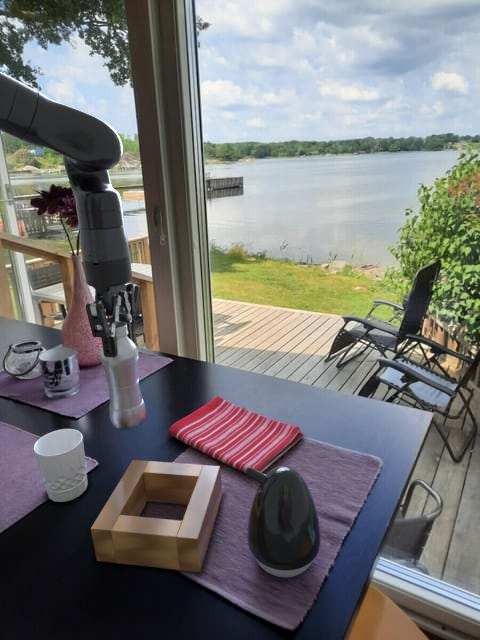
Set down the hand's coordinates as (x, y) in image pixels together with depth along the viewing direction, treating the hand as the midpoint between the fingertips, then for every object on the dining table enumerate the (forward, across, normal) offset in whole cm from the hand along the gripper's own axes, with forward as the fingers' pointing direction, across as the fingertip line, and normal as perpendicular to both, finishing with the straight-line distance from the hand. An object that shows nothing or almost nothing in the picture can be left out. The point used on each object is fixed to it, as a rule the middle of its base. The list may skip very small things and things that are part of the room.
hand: (118, 348), depth 78 cm
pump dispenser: (+24, +19, +30) cm, 43 cm away
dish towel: (+24, -10, +18) cm, 32 cm away
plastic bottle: (+16, 0, 0) cm, 16 cm away
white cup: (+24, +9, -9) cm, 27 cm away
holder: (+24, +15, +11) cm, 30 cm away
